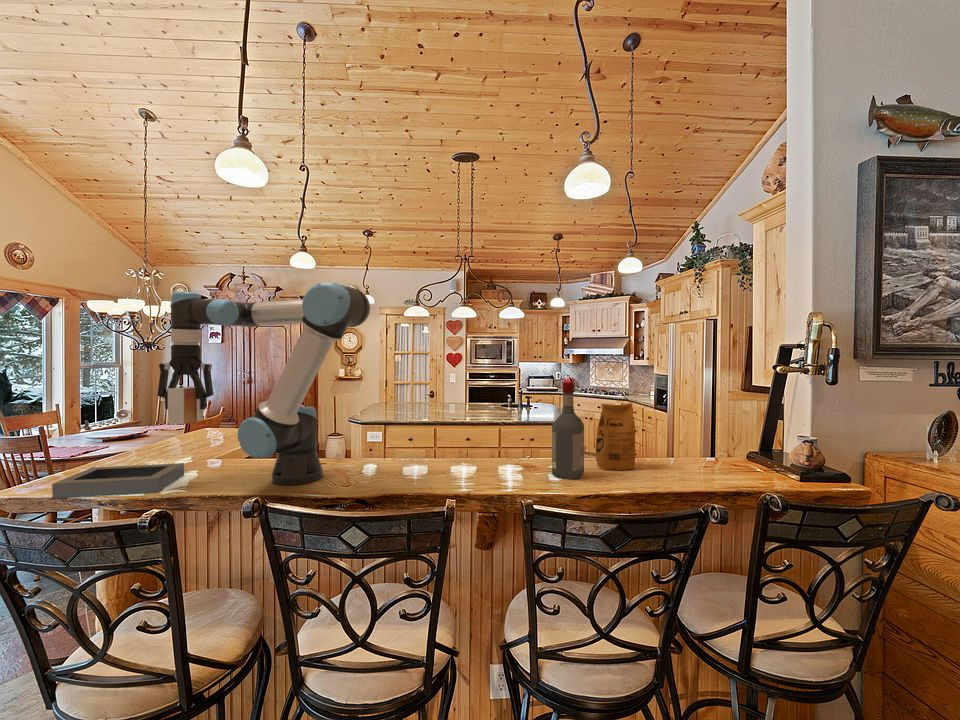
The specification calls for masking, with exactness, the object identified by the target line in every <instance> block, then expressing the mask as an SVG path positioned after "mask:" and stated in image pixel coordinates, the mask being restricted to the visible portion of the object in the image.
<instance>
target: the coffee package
mask: <svg viewBox="0 0 960 720" xmlns="http://www.w3.org/2000/svg"><path fill="white" fill-rule="evenodd" d="M595 461H596V464H597V466H598V467H599V469H601V470H603V471H611V470H617V471H622V472H623V471H630V470H635V468H636V423H635V418H634V407H633V404H632V403H624V404H608V403H601V412H600V417H599V421H598V426H597V430H596V441H595Z"/></svg>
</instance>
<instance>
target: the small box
mask: <svg viewBox="0 0 960 720" xmlns="http://www.w3.org/2000/svg"><path fill="white" fill-rule="evenodd" d="M167 389H168V388H167ZM199 398H200V397H199V395H198V392H197V390H196V388H195V386H188V385H187V386H183V387H176V388H169V389H168V409H167V424H170V425H171V424H172V425H185V424H186V425H187V424H191V423H198V422H203V421H204V416H205V415H204V410H205V409H203V420H200V421H197V399H199Z"/></svg>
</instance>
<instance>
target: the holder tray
mask: <svg viewBox="0 0 960 720" xmlns="http://www.w3.org/2000/svg"><path fill="white" fill-rule="evenodd" d="M184 476H185V463H184V462H181V463H178V462H177V463H161V464H159V463H158V464H140V465H117V466H116V465H115V466H112V465H111V466H98V467H97V466H95V467H94V466H93V467H90V468H88V469H85V470H83V471H81V472H77V473H75V474H73V475H70V476H68V477H66V478H64V479H63V478H62V479H60V480H59V481H55V482H54V483H52V484H51V486H52V487H51V488H52V489H51V490H52V493H51V494H52V495H51V496H52V499H59V498H61V499H62V498H78V497H81V496H83V497H97V496H96V495H101V496H114V495H115V496H116V495H117V496H119V495H131V494H132V495H135V494H152V493H158V492H161V490H163V489H165V488H167V487H168V486H170V485H172V484H173V483H174V482H176V481H178V480H179V479H181V478H182V477H184ZM180 477H181V478H180ZM177 479H178V480H177ZM175 480H176V481H175ZM172 482H173V483H172ZM94 495H95V496H94ZM81 498H82V497H81Z"/></svg>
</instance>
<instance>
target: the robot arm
mask: <svg viewBox="0 0 960 720" xmlns="http://www.w3.org/2000/svg"><path fill="white" fill-rule="evenodd" d="M169 307H170V320H171V321H170V326H171V327H170V342H171V343H172V344H171V346H170V357H171V358H170V360H169V362H165V363H164V362H163V363H160V364H159V365H158V367H159V372H160V373H159V374H160V375H159V380H158V381H159V382H158V389H157V397H160V398H163V399H164V408H165V410H168V389H169V388H178V384H179V381H180V379H181V377H182V376H184V375H186V376H189V377H190V378H191V379H192V382H193V386H194V387H195V388H196V390H197V392H198V395H199V397H200V398H199V399H197V421H199V422H201V421H200V420H203V421H204V419H203V409H204V410H205V409H207V398H210V397H212V396H214V386H213V381H212V380H213V379H212V373H211V371H212V367H213V365H212V363H206V362H203V361H202V360H201V353H202V352H201V348H202V347H201V345H200V343H201V339H202V338H201V337H202V336H201V328H202V327H201V325H210V326H211V325H213V326H228V327H230V326H232V327H247V328H255V327H261V326H279V325H280V326H281V325H284V326H285V325H302V326H303V330H302V331H301V334H300V335H299V337H298V338H297V341H296V344H295V346H294V347H293V349H292V350H291V353H290V356H289V357H288V360H287V361H286V363H285V365H284V367H283V370H282V371H281V373H280V376H279V377H278V379H277V381H276V382H275V386H274V387H273V389H272V390H271V393H270V395H269V397H268V399H267V400H265V401H262V402H260V403H259V404H258V406H257V408H256V411H255V412H254V414H253V416H252V417H251V416H250V417H248V418H245V419H244V420H243V421H242V422H241V423H240V425H239V426H238V428H237V429H238V430H237V440H238V442H239V446H240V448H241V449H242V451H243V452H244V453H245V454H246V455H247V456H249V457H251V458H254V459H264V458H269V457H272V456H274V455H277V456H276V459H275V462H274V465H273V469H272V472H271V482H272V483H273V484H276V485H282V486H283V485H284V486H285V485H287V486H293V485H302V484H303V485H305V484H308V483H313V482H315V481H318V480H320V479H322V478H323V476H324V473H323V472H324V468H323V465H322V463H321V460H320V457H319V455H318V450H317V448H318V447H317V446H318V444H317V440H318V439H317V434H318V432H317V425H318V422H317V420H318V417H317V409H316V408H315V407H314V406H307V405H305V406H303V405H302V404H303V402H304V399H305V398H306V396H307V394H308V392H309V390H310V389H311V387H312V384H313V383H314V381H315V378H316V377H317V375H318V373H319V370H320V369H321V367H322V365H323V363H324V361H325V359H326V357H327V355H328V353H329V351H330V349H331V347H332V346H333V344H334V343H335V342H338V341H341V340H342V338H343V336H344V335H345V333H346V330H347V329H348V328H355V327H359V326H360V325H362V324H363V323H365V322H366V320H367V319H368V317H369V315H370V312H371V304H370V300H369V299H368V297H367V295H366V294H365V293H364V292H362V291H361V290H360V289H357V288H355V287H350V286H347V285H343V284H339V283H337V282H318V283H316V284H314V285H312V286H311V287H310V288H308V290H307V291H306V292H305V294H304V296H303V298H302V299H291V300H290V299H289V300H287V299H286V300H272V301H271V300H270V301H255V302H240V301H233V300H232V299H226V298H206V299H205V298H204V299H203V298H202V297H201V294H200V293H198V292H194V291H193V292H192V291H174V292H172V294H171V299H170V305H169ZM171 369H172V370H173V373H172V374H171V375H172V376H171V378H170V379H171V380H170V382H169V384H168V380H169V374H170V371H169V370H171ZM199 369H201V371H203V372H202V373H203V374H202V376H203V381H204V384H203V382H202V379H201V378H200V373H199ZM301 405H302V406H301Z"/></svg>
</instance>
